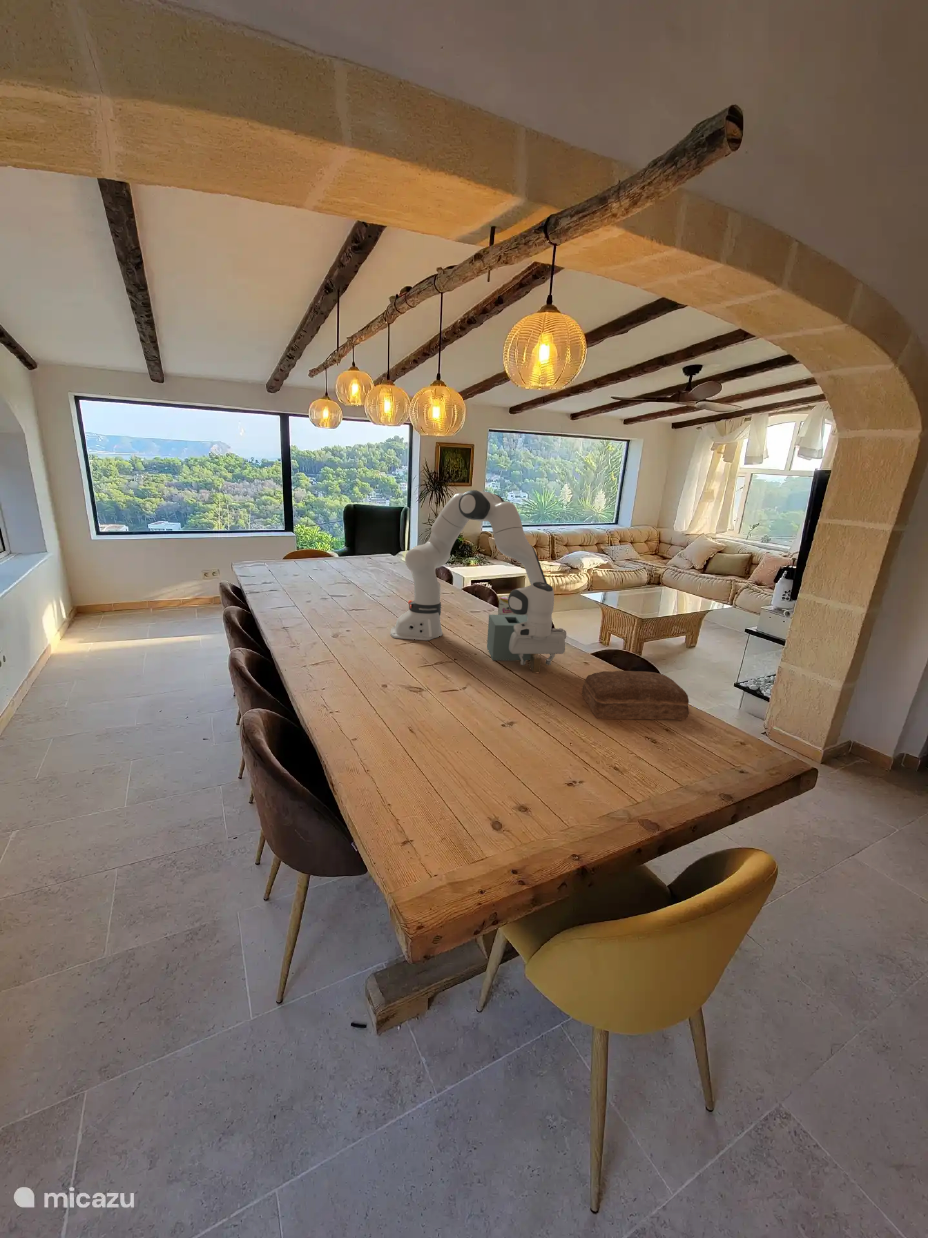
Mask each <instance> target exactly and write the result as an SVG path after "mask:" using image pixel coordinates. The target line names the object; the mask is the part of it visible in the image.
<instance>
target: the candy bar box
mask: <svg viewBox="0 0 928 1238" xmlns="http://www.w3.org/2000/svg"><path fill="white" fill-rule="evenodd" d="M508 597H509V596H506V595H503V596H501V597H499V599H498V611H497V615H521V614H515V613H513V612H512V611H511V610H510V608H509V605H508Z"/></svg>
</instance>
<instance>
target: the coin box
mask: <svg viewBox="0 0 928 1238" xmlns="http://www.w3.org/2000/svg"><path fill="white" fill-rule="evenodd" d="M526 621H527V615H498V614H488V626H487V627H488V628H487V641H486V649H487V651H488V650H489V651H488V653H489V655H491V656H490V658H491V660H492V661H515V660H521V659H520V657H519V655H518V654H512V653H511V652H510V650H509V642H510V637H511V634H512V633H513V632H515V631H514V625H516V624H519V623H522V622H526ZM530 655H531V654H523V656H522V658H523V659H525V660H530Z"/></svg>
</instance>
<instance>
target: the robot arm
mask: <svg viewBox="0 0 928 1238" xmlns="http://www.w3.org/2000/svg"><path fill="white" fill-rule="evenodd" d="M469 520H472V521H477V522H489V524H490V526H491V530H492V534H493V539H494V543H495V546H496V549H497V550H498V551H499V552H500V553H501V554H502V555H504V556H506V557H509V558H510V559H514V560H516V561H517V562H519V563H520V564H521V565H522V566H523V567H524V569H525V572H526V575H527V578H528V580H529V583H530V585H527V586H524V587H519V588H514V589H512V590H511V591H510V593H508V596H507V597H508V605H509V608H510V610H511V611H512V612H513V613H515V614H521V615H527V621H526V622H522V623H519V624H516V625H514V631H515V632H513V633H512V634H511V637H510V642H509V650H510V652H511V653H512V654H518V655H519V657H520V659H521V661H520V665H521V666H525V665H526V662H527V661H526V660H525V659H523V658H522V656H523V654H538V655H549V656H548V658H546V659H545V665H546V666H550V665H551V664H552V661H553V660H554V659H555V655H563V654H564V653H565V652H566V639H567V630H565V629H564V628H556V627H554V628H552V626H553V618H552V615H553V612H554V607H555V592H554V588H553V586H552V585H550V584H549V583H548V581H547V580H546V577H545V574H544V572H543V569H542V568H543V567H542V566H541V563H540V559H539V557H538V555H537V552H536V550H535V548H534V546H532V545H531V544H530V542H529V540H528V538H527V537H526V534H525V531H524V528H523V522H522V519H521V517H520V514H519V511H518V509H517V507H516V505H515V503H513V502H510V501H505V500H504V499H503V498H502V497H501V496H500V495H498V494H496V493H492V492H489V491H484V490H483V491H480V490H477V489H473V490H472V489H470V490H468V491H465V492H464V493H463V492H457V493H455V494H454V495H453V496H452V497H451V498H450V499H449V500H448V501H447V502H446V504H445V505H444V507H443V508H442V510H441V511H440V512H439V514H438V516H437V517H436V519H435V520H434V522H433V524H432V526H431V527H430V531H431V532H430V535H429V538H428V540H427V541H426V542H425V543H424V544H418V545H416V546H413V547H412V548H411V549H409V550H408V551H407V552H406V554H405V557H404V561H405V562H404V563H405V565H406V567H407V569H409V570H410V572H411V576H412V580H413V586H414V587H413V591H414V592H413V595H414V596H413V600H412V599H410V600H408V602H407V604H408V610H406V611H405V612H404V613H403V614H400V616H398V617H397V619H396V623H395V626H393V627H391V629H390V634H389V635H390V636H391V638H394V639H400V640H401V639H402V640H414V639H415V641H418V640H419V641H431V640H433V639H435V638H436V639H437V638H439V636H440V637H441V636H443V629H442V623H441V613H442V602H441V588H442V587H441V582H439V581H438V577H437V574H436V569H439V568H441V567H443V566H444V565H445V564H446V563H447V562H448V561H449V560H450V557H451V551H452V548H453V547H454V544H455V542H456V540H458V537H459V536H460V534H461V533H462V531H463V530H464V528H465V527H466V525H467V524H468V523H469Z"/></svg>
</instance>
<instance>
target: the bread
mask: <svg viewBox="0 0 928 1238" xmlns="http://www.w3.org/2000/svg"><path fill="white" fill-rule="evenodd" d="M581 696H582V697H583V698H582V699H584V701H585V702H586V703H587V705H588V706H589V708H590V710H591V712H592V713H593V716H595V718H597V719H603V720H605V719H606V720H676V721H686V720H687V719H688V717H689V713H690V711H689V710H690V709H689V703H690V701H689V695H688V693H687V692H686V691H685V690H684V689H683V688H682V687H681V686H680V685H678V684H677V683H676V682H675V681H674V680H673V679H672V678H671V677H668V676H667V675H666V674H665V675H664V674H663V673H657V672H653V671H642V670H641V671H639V670H638V671H636V670H612V671H609V670H608V671H607V670H603V671H600V672H595V673H592V674H588V675H587V677H586V678H585V679H584V684H583V686H582V687H581Z"/></svg>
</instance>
